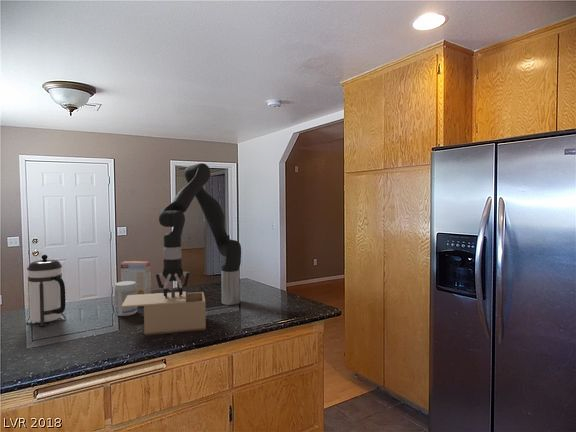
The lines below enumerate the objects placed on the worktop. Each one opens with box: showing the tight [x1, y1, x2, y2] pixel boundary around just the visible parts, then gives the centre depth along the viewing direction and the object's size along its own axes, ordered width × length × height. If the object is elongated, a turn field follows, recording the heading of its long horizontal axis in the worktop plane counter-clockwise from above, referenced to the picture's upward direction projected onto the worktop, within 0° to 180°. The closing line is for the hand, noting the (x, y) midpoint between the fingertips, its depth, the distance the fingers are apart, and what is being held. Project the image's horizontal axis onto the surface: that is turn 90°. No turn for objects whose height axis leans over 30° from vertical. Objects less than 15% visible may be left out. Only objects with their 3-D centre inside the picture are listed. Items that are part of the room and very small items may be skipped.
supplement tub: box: [114, 281, 138, 317], centre depth 175 cm, size 10×10×15 cm
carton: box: [143, 291, 207, 336], centre depth 159 cm, size 24×16×12 cm, turn 106°
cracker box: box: [120, 260, 152, 295], centre depth 198 cm, size 14×6×21 cm, turn 84°
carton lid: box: [122, 287, 187, 307], centre depth 156 cm, size 24×16×4 cm
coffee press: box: [25, 254, 67, 328], centre depth 163 cm, size 17×16×30 cm
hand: (173, 296), depth 158 cm, fingers closed on carton lid, 5 cm apart
